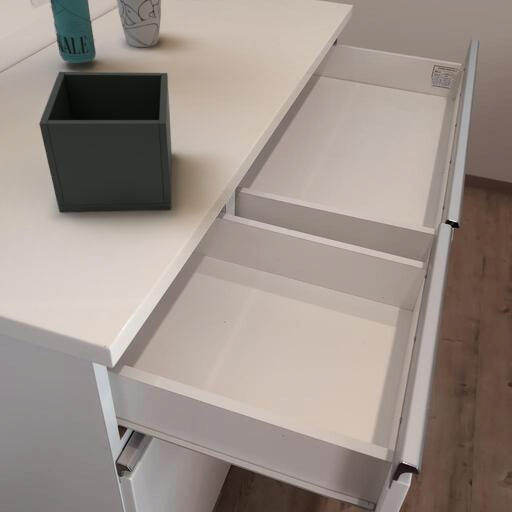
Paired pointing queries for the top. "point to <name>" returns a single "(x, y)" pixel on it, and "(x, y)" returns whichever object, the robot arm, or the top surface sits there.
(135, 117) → the bin
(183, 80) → the top surface
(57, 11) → the beverage bottle
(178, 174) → the top surface
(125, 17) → the mug
